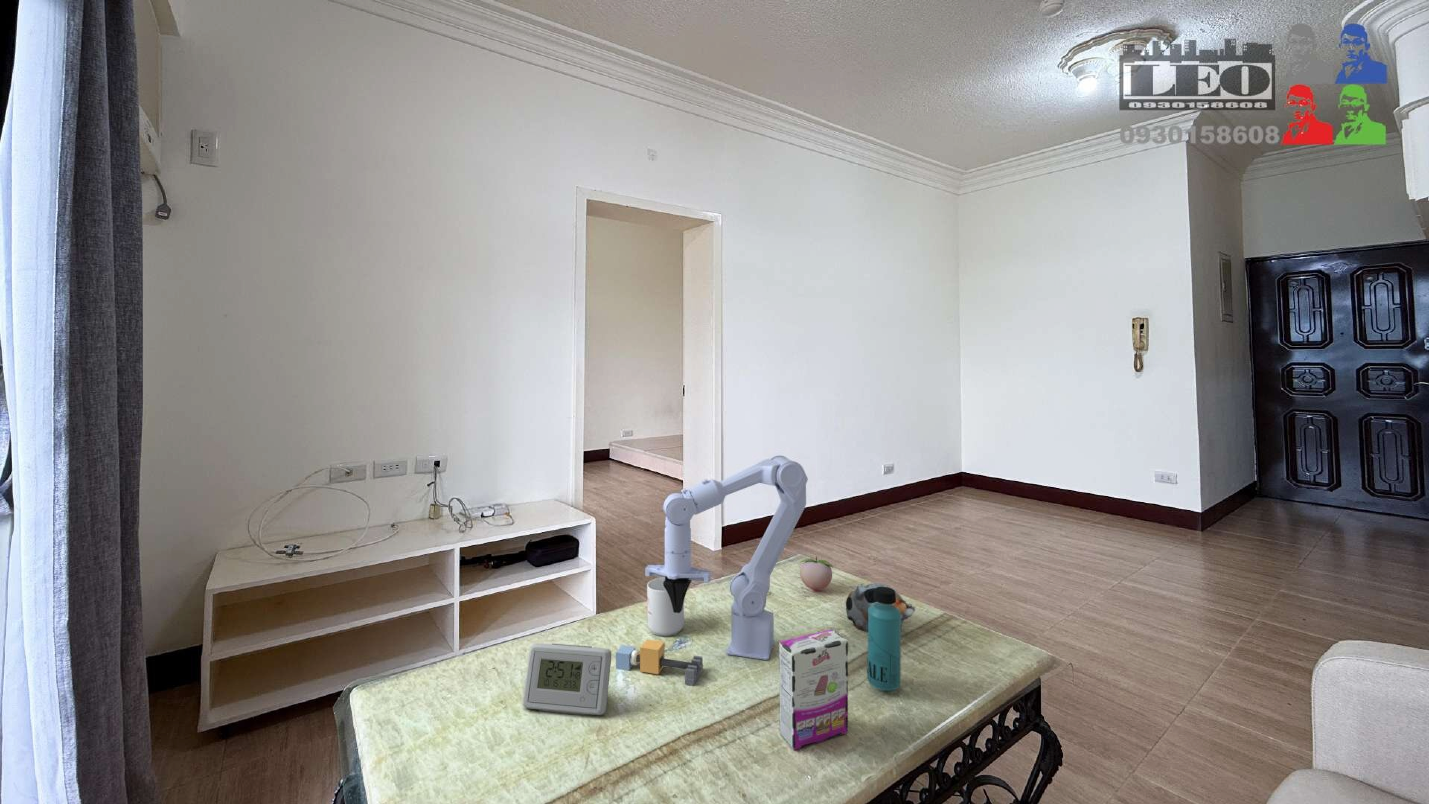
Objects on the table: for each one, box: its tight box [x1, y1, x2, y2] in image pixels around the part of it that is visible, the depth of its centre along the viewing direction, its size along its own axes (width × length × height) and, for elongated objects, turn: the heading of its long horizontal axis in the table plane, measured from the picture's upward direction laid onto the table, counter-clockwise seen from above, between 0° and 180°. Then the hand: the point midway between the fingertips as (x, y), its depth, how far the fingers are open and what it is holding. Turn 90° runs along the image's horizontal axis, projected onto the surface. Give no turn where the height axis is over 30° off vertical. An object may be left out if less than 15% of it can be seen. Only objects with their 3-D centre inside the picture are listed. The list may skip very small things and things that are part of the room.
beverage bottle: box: [866, 586, 902, 691], centre depth 104 cm, size 6×7×20 cm
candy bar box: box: [778, 628, 849, 751], centre depth 91 cm, size 11×5×16 cm, turn 114°
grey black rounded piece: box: [845, 582, 916, 633], centre depth 130 cm, size 15×12×14 cm
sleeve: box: [639, 639, 666, 675], centre depth 111 cm, size 4×4×5 cm
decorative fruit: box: [799, 556, 834, 592], centre depth 152 cm, size 9×8×10 cm
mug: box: [646, 577, 685, 637], centre depth 131 cm, size 12×9×11 cm
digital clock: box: [522, 642, 612, 716], centre depth 99 cm, size 16×9×11 cm, turn 70°
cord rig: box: [615, 644, 704, 686], centre depth 111 cm, size 18×6×3 cm, turn 74°
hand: (677, 610), depth 117 cm, fingers closed
